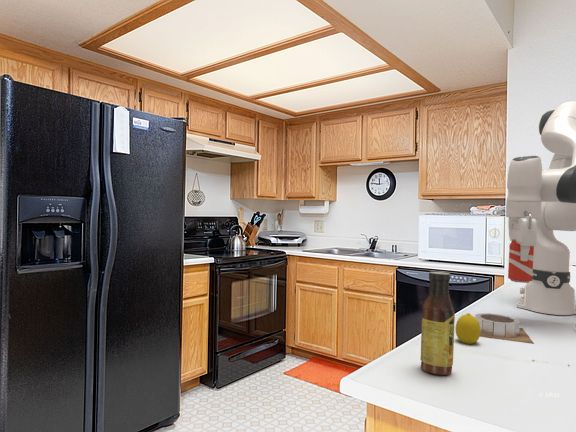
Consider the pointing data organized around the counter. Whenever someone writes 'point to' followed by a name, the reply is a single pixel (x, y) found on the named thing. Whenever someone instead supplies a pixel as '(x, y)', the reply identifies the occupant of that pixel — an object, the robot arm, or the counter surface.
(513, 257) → the beverage can
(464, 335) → the lemon
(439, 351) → the sauce bottle
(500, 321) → the white segmented ring
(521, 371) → the counter surface
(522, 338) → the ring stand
